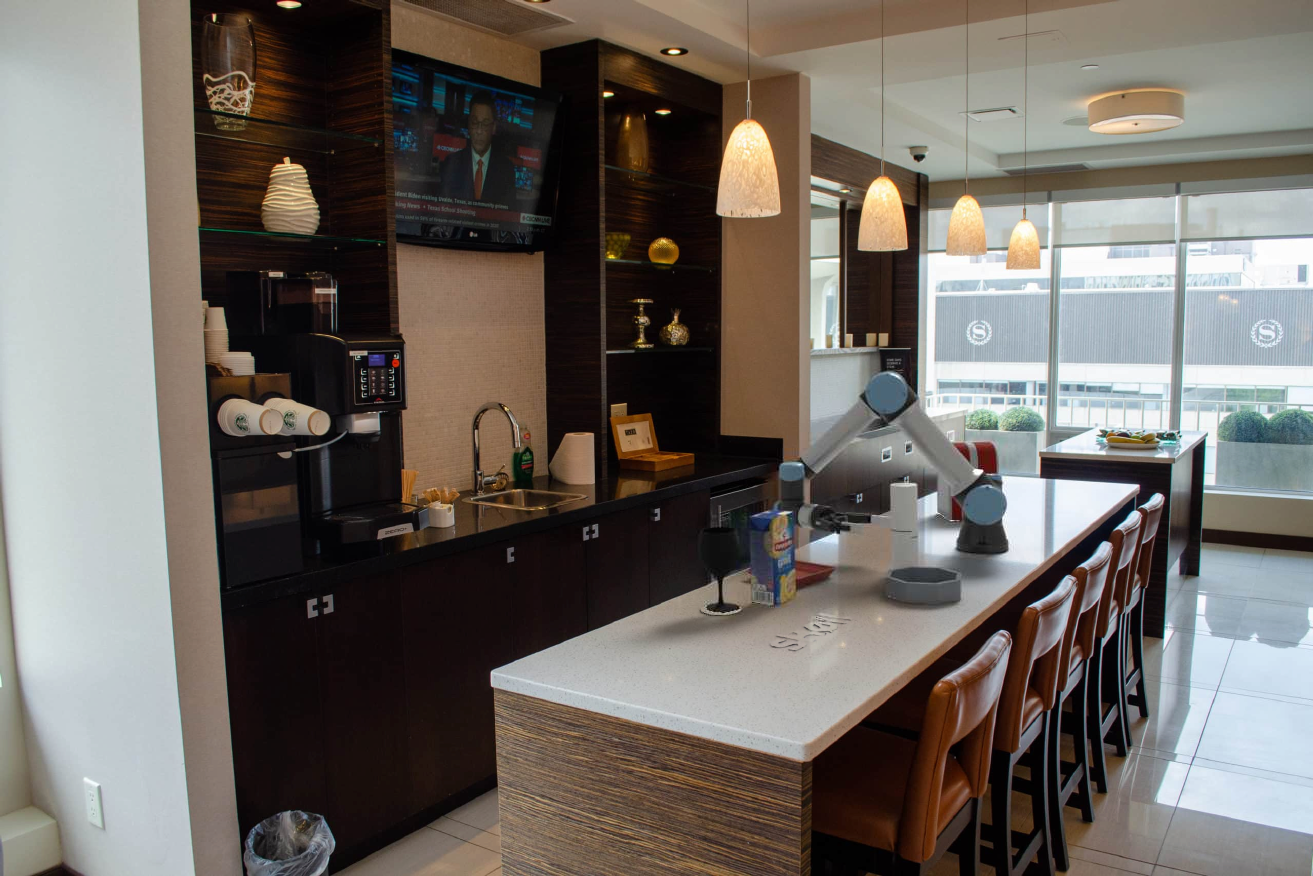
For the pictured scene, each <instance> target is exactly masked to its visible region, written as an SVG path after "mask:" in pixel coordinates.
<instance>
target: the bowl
mask: <svg viewBox="0 0 1313 876" xmlns="http://www.w3.org/2000/svg"><path fill="white" fill-rule="evenodd" d="M886 595H887V596H890V597H891V598H890V597H889V598H890V599H893V598H895V599H894V600H896V599H898V600H897V601H899V600H901V601H900V602H902V601H904V602H903V603H905V602H912V603H911V604H918V603H925V604H924V605H942V604H945V603H951V602H956V601H961V598H962V572H958V571H957V570H956V571H955V570H952V569H948V568H944V567H937V566H935V567H934V566H918V567H917V566H910V567H904V568H898V569H892V568H891V569H888V570H887V573H886V575H885V596H886ZM887 596H886V597H887ZM941 603H942V604H941Z"/></svg>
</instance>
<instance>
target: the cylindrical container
mask: <svg viewBox="0 0 1313 876" xmlns="http://www.w3.org/2000/svg"><path fill="white" fill-rule="evenodd" d="M889 485H890V486H889V488H890V491H889V492H890V494H889V495H890V517H891V527H890V541H891V543H890V546H891V548H890V549H891V552H890V553H891V570H892V569H898V568H904V567H910V566H917V567H919V536H918V535H919V525H918V524H919V522H918V521H919V520H918V517H919V516H918V510H919V509H918V508H919V507H918V484H917V483H914V482H894V483H891V484H889Z"/></svg>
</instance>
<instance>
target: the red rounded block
mask: <svg viewBox="0 0 1313 876" xmlns="http://www.w3.org/2000/svg"><path fill="white" fill-rule="evenodd" d="M951 443H952V444H953V445H954V446H955V447H956V448H957V449H958V451H959V452H960V453H961V454H962V455H963V456H964V457H965V458H966V460H967V461H968V462H969V463H970V464H971V465H972V466H973V468H974V469H979V470H983V471H984V472H985V473H986V474H1000V473H999V472H1000V471H999V469H1000V467H999V465H1000V464H999V462H1000V460H999V452H998V449H997V446H996V445H995V444H994V442H992V441H990V440H974V441H969V440H968V441H951ZM936 503H937V505H936V506H937V512H938V513H940V514H941V515H943V516H944V517H946V519H948V520H962V507H961V506H960V505H959V504H958V503H957V502H956V501H955V499H954V498H953V497H952V496H951V487H950V486H949V485H948V483H947V482H946V481H945V480H944V479H943V478H942V477H941V475H940V474H939V473H938V472H937V471H936ZM946 519H945V520H946ZM948 520H947V521H948Z"/></svg>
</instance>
